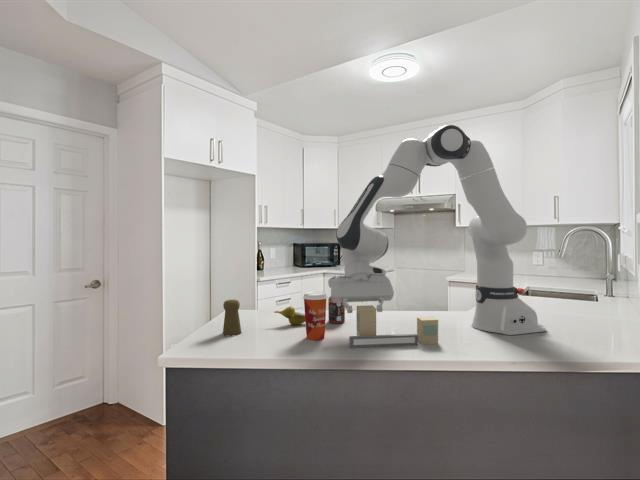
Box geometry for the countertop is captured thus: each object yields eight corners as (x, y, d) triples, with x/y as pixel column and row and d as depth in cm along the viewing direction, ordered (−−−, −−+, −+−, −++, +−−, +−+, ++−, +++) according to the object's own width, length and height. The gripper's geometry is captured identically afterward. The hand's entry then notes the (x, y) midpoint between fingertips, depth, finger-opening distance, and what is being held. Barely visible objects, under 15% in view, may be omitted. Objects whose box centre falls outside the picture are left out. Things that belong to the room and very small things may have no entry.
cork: (245, 331, 124) (244, 299, 124) (233, 336, 119) (233, 302, 118) (230, 329, 127) (229, 297, 126) (218, 334, 121) (218, 301, 121)
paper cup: (309, 342, 112) (309, 296, 111) (299, 336, 119) (298, 292, 118) (332, 338, 115) (332, 293, 115) (321, 332, 122) (320, 290, 122)
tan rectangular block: (372, 336, 117) (372, 305, 117) (376, 341, 112) (376, 308, 112) (356, 337, 117) (356, 305, 116) (359, 342, 112) (359, 309, 111)
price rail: (416, 343, 110) (416, 333, 110) (418, 345, 108) (418, 335, 108) (349, 346, 108) (349, 336, 108) (350, 348, 107) (350, 337, 107)
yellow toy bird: (274, 324, 134) (273, 306, 133) (315, 322, 136) (315, 304, 135) (274, 327, 129) (274, 308, 129) (317, 325, 131) (317, 306, 131)
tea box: (432, 339, 114) (432, 316, 114) (438, 343, 110) (438, 320, 110) (417, 339, 114) (416, 317, 113) (421, 344, 110) (421, 320, 109)
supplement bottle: (343, 324, 132) (343, 292, 132) (327, 323, 133) (326, 292, 133) (345, 320, 138) (345, 289, 138) (330, 319, 139) (329, 289, 139)
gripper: (328, 271, 122) (332, 307, 112) (389, 269, 123) (398, 304, 114) (327, 282, 126) (331, 318, 117) (386, 280, 128) (394, 315, 119)
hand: (365, 311), depth 115 cm, fingers open, 8 cm apart
